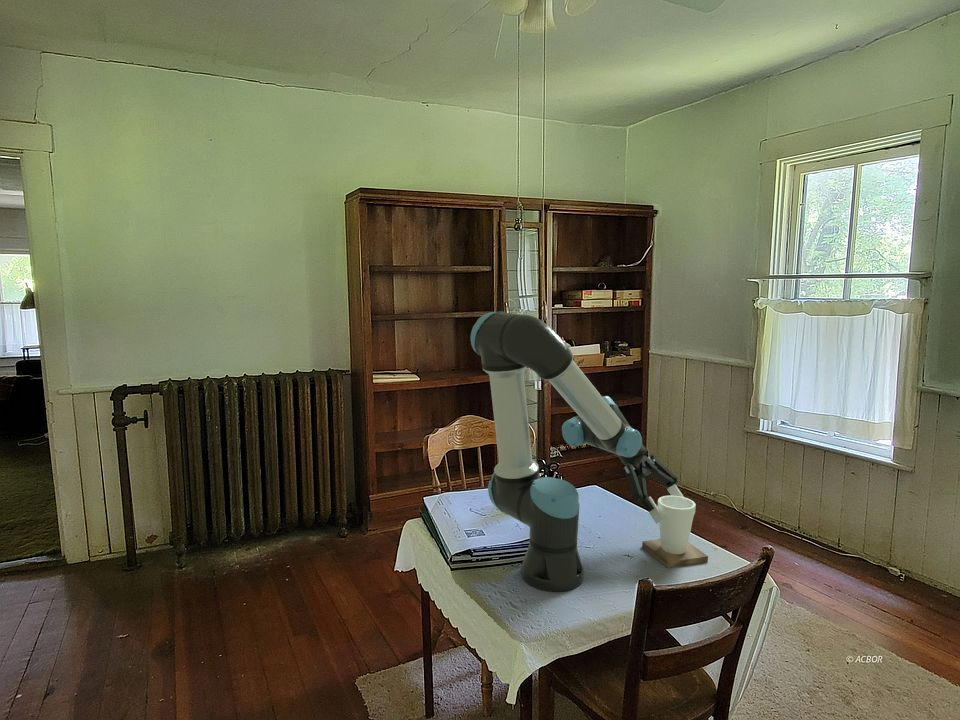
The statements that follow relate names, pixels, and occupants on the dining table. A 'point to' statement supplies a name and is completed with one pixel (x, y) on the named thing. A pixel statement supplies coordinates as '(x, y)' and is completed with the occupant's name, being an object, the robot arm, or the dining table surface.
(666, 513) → the foam cup
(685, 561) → the walnut coaster
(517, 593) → the dining table surface
